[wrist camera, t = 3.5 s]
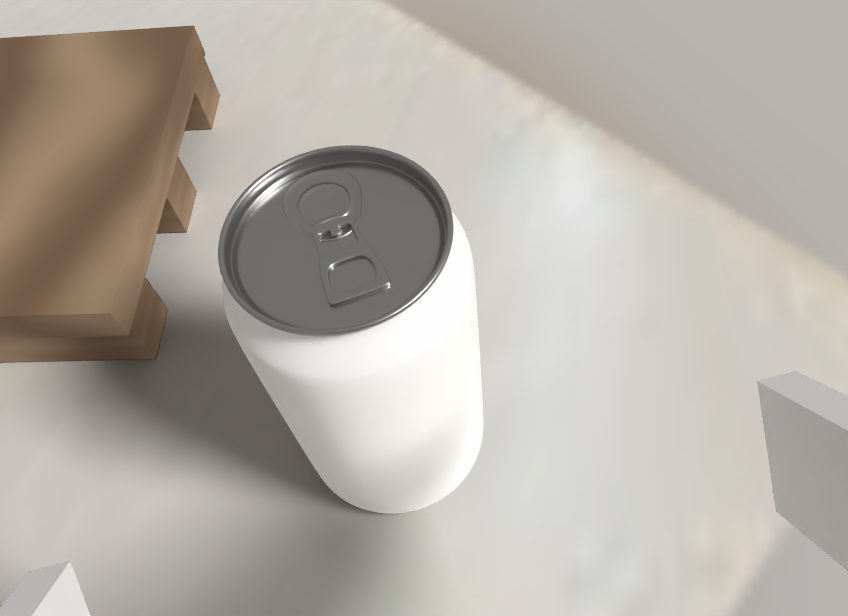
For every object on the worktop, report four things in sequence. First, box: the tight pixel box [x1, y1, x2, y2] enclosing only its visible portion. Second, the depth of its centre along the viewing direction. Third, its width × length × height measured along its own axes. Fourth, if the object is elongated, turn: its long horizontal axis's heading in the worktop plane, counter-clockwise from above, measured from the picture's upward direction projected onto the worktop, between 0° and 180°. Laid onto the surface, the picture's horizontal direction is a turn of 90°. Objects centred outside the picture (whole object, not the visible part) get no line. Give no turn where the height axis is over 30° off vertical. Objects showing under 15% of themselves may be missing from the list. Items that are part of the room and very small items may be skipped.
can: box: [218, 145, 483, 514], centre depth 23 cm, size 6×6×12 cm
